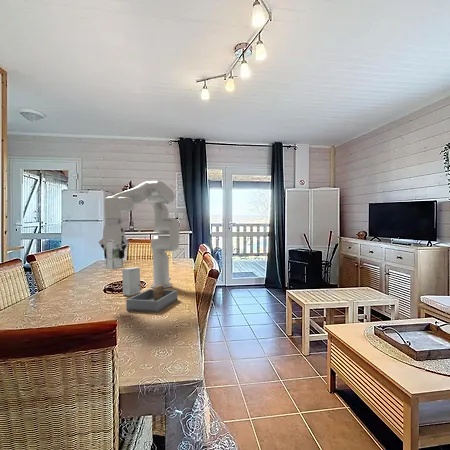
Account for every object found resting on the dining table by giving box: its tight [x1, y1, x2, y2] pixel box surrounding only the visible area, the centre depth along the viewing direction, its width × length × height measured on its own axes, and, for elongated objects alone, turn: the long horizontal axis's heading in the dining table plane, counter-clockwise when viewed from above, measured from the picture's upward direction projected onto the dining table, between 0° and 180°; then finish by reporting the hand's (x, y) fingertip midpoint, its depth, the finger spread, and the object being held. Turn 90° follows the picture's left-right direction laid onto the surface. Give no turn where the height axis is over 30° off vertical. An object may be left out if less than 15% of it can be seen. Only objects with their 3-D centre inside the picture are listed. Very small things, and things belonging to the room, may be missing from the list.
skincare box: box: [121, 266, 141, 297], centre depth 181 cm, size 8×6×15 cm
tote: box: [125, 288, 178, 313], centre depth 158 cm, size 22×16×5 cm
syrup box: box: [105, 239, 124, 270], centre depth 157 cm, size 6×6×14 cm
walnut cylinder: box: [152, 285, 165, 301], centre depth 163 cm, size 5×5×7 cm
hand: (114, 257), depth 157 cm, fingers closed on syrup box, 7 cm apart
